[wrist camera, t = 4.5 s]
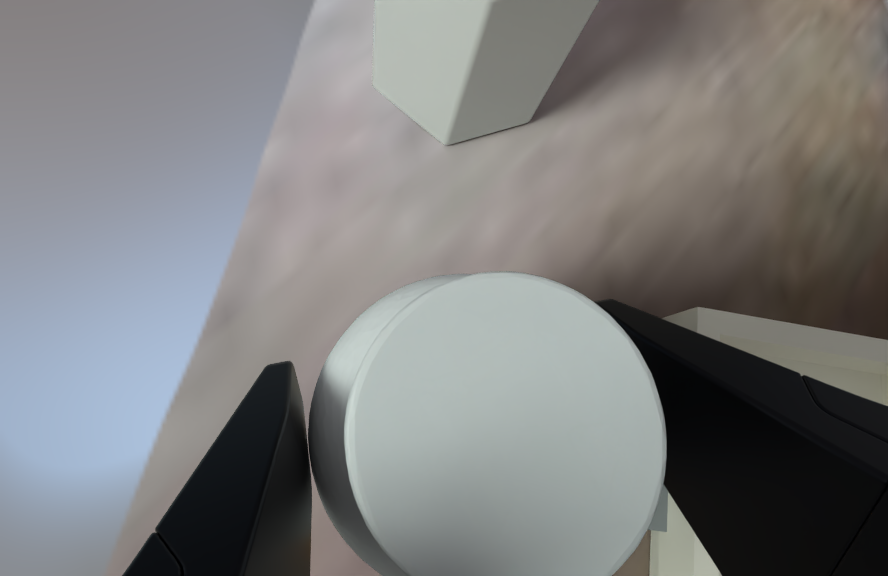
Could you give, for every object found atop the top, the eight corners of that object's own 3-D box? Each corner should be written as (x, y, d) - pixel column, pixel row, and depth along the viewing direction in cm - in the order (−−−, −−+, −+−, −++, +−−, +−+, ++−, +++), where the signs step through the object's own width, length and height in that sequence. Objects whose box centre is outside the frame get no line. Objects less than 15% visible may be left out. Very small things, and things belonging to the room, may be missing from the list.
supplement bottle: (545, 453, 16) (808, 505, 7) (390, 560, 15) (439, 818, 5) (453, 301, 17) (571, 150, 7) (297, 389, 15) (193, 346, 6)
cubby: (906, 631, 23) (984, 663, 20) (648, 604, 22) (692, 633, 19) (885, 358, 26) (951, 351, 23) (658, 319, 25) (697, 306, 22)
